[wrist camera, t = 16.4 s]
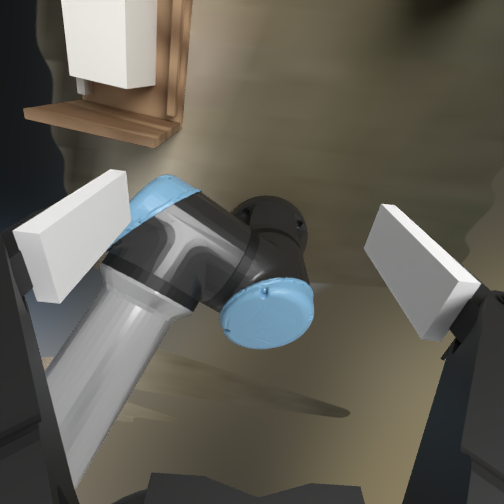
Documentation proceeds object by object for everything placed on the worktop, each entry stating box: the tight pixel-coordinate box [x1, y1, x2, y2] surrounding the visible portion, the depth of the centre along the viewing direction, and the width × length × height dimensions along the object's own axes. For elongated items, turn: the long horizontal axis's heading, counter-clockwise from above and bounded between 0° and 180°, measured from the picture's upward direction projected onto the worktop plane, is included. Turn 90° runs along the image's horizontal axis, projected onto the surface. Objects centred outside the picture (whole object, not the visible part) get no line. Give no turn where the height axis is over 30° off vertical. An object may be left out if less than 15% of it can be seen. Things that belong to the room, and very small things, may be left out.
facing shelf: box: [23, 0, 193, 148], centre depth 31 cm, size 22×14×14 cm, turn 167°
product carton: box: [61, 0, 157, 89], centre depth 32 cm, size 12×6×10 cm, turn 168°
